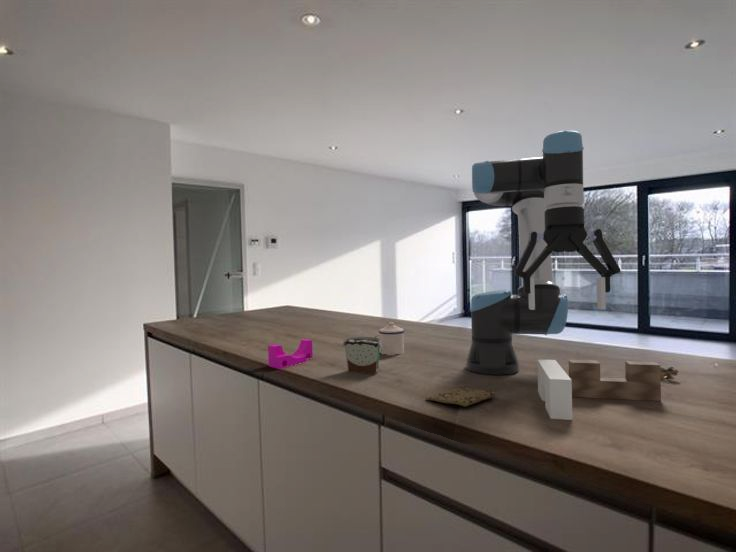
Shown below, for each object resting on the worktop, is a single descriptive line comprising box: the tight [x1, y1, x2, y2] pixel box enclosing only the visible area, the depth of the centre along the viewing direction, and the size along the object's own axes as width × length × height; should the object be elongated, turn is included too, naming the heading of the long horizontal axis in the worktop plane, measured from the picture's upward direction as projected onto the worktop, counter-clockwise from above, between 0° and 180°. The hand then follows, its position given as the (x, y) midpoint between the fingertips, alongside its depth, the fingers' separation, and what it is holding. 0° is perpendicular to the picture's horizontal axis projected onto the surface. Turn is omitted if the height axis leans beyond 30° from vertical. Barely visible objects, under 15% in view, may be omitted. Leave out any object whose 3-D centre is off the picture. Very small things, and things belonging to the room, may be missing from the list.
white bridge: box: [537, 359, 573, 421], centre depth 91 cm, size 18×4×8 cm, turn 165°
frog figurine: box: [660, 366, 679, 384], centre depth 110 cm, size 12×12×4 cm
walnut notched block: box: [568, 359, 662, 402], centre depth 95 cm, size 18×3×8 cm, turn 75°
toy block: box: [267, 338, 314, 370], centre depth 137 cm, size 15×6×8 cm, turn 136°
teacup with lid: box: [373, 321, 405, 356], centre depth 149 cm, size 12×9×12 cm
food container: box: [342, 336, 382, 375], centre depth 126 cm, size 12×6×10 cm, turn 65°
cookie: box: [425, 387, 498, 407], centre depth 97 cm, size 12×12×2 cm
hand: (566, 309), depth 87 cm, fingers open, 13 cm apart
